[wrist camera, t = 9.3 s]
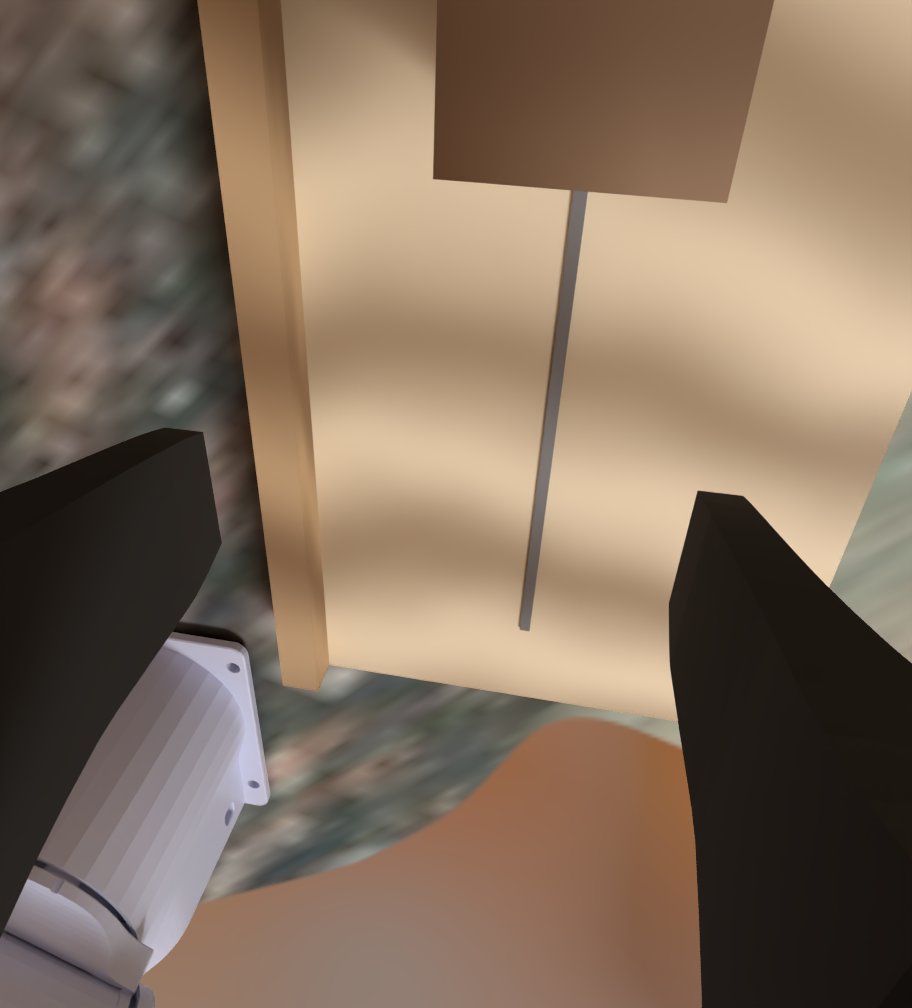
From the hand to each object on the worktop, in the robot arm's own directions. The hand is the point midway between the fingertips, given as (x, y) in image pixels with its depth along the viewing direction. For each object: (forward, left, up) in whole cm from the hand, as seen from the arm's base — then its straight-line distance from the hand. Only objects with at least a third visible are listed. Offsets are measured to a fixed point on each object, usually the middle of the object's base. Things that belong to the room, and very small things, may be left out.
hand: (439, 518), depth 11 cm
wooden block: (+6, -1, -8) cm, 11 cm away
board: (-2, -1, -10) cm, 10 cm away
